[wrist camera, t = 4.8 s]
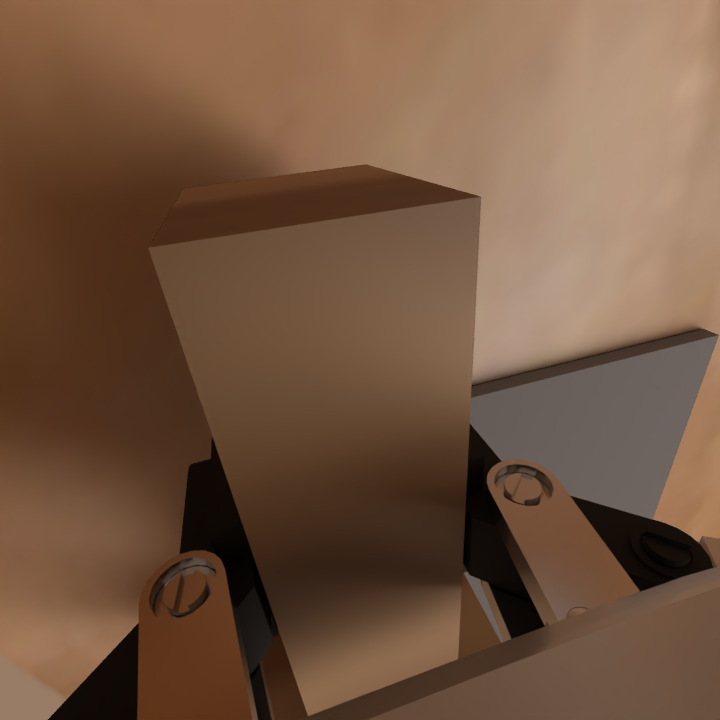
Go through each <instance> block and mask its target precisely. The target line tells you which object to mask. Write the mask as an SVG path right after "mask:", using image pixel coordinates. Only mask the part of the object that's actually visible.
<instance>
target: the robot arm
mask: <svg viewBox="0 0 720 720" xmlns="http://www.w3.org/2000/svg"><path fill="white" fill-rule="evenodd" d="M465 572H468V573H469V575H471V576H473V577H475V578H478V579H480V581H481V586H482V588H483V591H484V593H485V596H486V598H487V601H488V603H489V606H490V608H491V611H492V613H493V616H494V618H495V621H496V623H497V626H498V628H499V631H500V633H501V636H502V638H503V641H504V642H502V643H500V644H497V645H494V646H492V647H489V648H486V649H484V650H481V651H478V652H476V653H473V654H471V655H468V656H465V657H463V658H460V659H457V660H455V661H452V662H449V663H447V664H444V665H441V666H439V667H436V668H433V669H431V670H428V671H426V672H423V673H420V674H418V675H415V676H412V677H410V678H407V679H404V680H402V681H399V682H397V683H394V684H391V685H389V686H386V687H383V688H381V689H378V690H375V691H373V692H370V693H367V694H365V695H362V696H360V697H357V698H354V699H352V700H349V701H346V702H344V703H341V704H339V705H336V706H333V707H331V708H328V709H326V710H323V711H320V712H318V713H315V714H313V715H310V716H307V717H305V718H302V719H300V720H720V539H719V538H712V537H704V536H702V538H701V540H700V542H697V541H695V540H694V539H693V538H692V537H691V536H689V535H688V534H686V533H684V532H683V531H681V530H679V529H678V528H676V527H673V526H670V525H668V524H665V523H663V522H659V521H656V520H652V519H649V518H645V517H642V516H639V515H635V514H632V513H628V512H625V511H621V510H618V509H615V508H611V507H608V506H604V505H601V504H597V503H594V502H591V501H587V500H584V499H580V498H577V497H573V496H570V495H569V494H568V492H567V491H566V490H565V488H564V487H563V486H562V484H561V483H560V482H559V480H558V479H557V478H556V477H555V476H554V475H553V474H552V473H551V471H549V470H548V469H546V468H545V467H543V466H541V465H539V464H537V463H534V462H531V461H527V460H520V459H514V460H506V461H501V460H500V459H499V458H498V456H497V455H496V454H495V453H494V452H493V450H492V449H491V448H490V447H489V446H488V444H487V443H486V442H485V441H484V440H483V438H482V437H481V436H480V435H479V434H478V432H477V431H476V430H475V429H474V428H473V426H472V425H471V424H470V429H469V449H468V469H467V489H466V509H465V530H464V550H463V570H462V573H465ZM275 636H278V627H277V624H276V621H275V618H274V615H273V612H272V609H271V606H270V603H269V600H268V597H267V595H266V592H265V589H264V586H263V583H262V580H261V577H260V574H259V571H258V568H257V565H256V562H255V559H254V557H253V554H252V551H251V548H250V545H249V542H248V539H247V536H246V533H245V530H244V527H243V524H242V521H241V519H240V516H239V513H238V510H237V507H236V504H235V501H234V498H233V495H232V492H231V489H230V486H229V483H228V481H227V478H226V475H225V472H224V469H223V466H222V463H221V460H220V457H219V454H218V451H217V448H216V445H215V443H214V440H213V437H212V448H211V459H209V460H205V461H201V462H197V463H193V464H191V465H190V466H189V470H188V479H187V489H186V499H185V508H184V518H183V528H182V537H181V547H180V555H178V556H176V557H174V558H172V559H170V560H168V561H167V562H166V563H165V564H163V565H162V566H161V567H160V568H158V569H157V570H156V571H155V573H154V574H153V575H152V576H151V577H150V579H149V580H148V581H147V583H146V585H145V587H144V589H143V591H142V593H141V598H140V603H139V623H138V624H137V625H136V626H135V627H134V628H133V629H132V631H131V632H130V633H129V634H128V635H127V636H126V637H125V638H124V639H123V640H122V641H121V642H120V643H119V644H118V645H117V647H116V648H115V649H114V650H113V651H112V652H111V653H110V654H109V655H108V656H107V657H106V658H105V659H104V660H103V661H102V663H101V664H100V665H99V666H98V667H97V668H96V669H95V670H94V671H93V672H92V673H91V674H90V675H89V676H88V677H87V679H86V680H85V681H84V682H83V683H82V684H81V685H80V686H79V687H78V688H77V689H76V690H75V691H74V692H73V693H72V695H71V696H70V697H69V698H68V699H67V700H66V701H65V702H64V703H63V704H62V705H61V706H60V707H59V709H57V711H56V712H55V713H54V714H53V715H52V716H51V717H50V718H49V719H48V720H275V718H274V714H273V709H272V705H271V700H270V696H269V691H268V686H267V682H266V677H265V673H264V668H263V664H262V660H261V659H262V658H263V656H264V655H265V653H266V652H267V650H268V649H269V647H270V646H271V644H272V643H273V637H275Z"/></svg>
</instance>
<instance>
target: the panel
mask: <svg viewBox="0 0 720 720" xmlns="http://www.w3.org/2000/svg"><path fill="white" fill-rule="evenodd" d="M718 336H719V335H717V334H715V333H712V332H710V331H708V330H705V329H701V330H697V331H693V332H689V333H685V334H681V335H677V336H673V337H669V338H665V339H661V340H657V341H653V342H649V343H645V344H641V345H637V346H633V347H629V348H625V349H621V350H617V351H612V352H608V353H604V354H600V355H596V356H592V357H588V358H584V359H580V360H576V361H572V362H568V363H564V364H560V365H556V366H552V367H548V368H544V369H540V370H536V371H532V372H528V373H524V374H520V375H516V376H512V377H508V378H504V379H500V380H496V381H491V382H487V383H483V384H479V385H475V386H472V388H471V408H470V424H471V425H472V426H473V428H474V429H475V430H476V431H477V432H478V434H479V435H480V436H481V437H482V438H483V440H484V441H485V442H486V443H487V444H488V446H489V447H490V448H491V449H492V450H493V452H494V453H495V454H496V455H497V456H498V458H499V459H500V460H501V461H506V460H514V459H520V460H527V461H531V462H534V463H537V464H539V465H541V466H543V467H545V468H546V469H548V470H549V471H551V473H552V474H553V475H554V476H555V477H556V478H557V479H558V480H559V482H560V483H561V484H562V486H563V487H564V488H565V490H566V491H567V492H568V494H569V495H570V496H573V497H577V498H580V499H584V500H587V501H591V502H594V503H597V504H601V505H604V506H608V507H611V508H615V509H618V510H621V511H625V512H628V513H632V514H635V515H639V516H642V517H645V518H649V519H653V517H654V514H655V511H656V508H657V505H658V503H659V500H660V497H661V494H662V492H663V489H664V486H665V483H666V480H667V478H668V475H669V472H670V469H671V467H672V464H673V461H674V458H675V455H676V453H677V450H678V447H679V444H680V442H681V439H682V436H683V433H684V430H685V428H686V425H687V422H688V419H689V416H690V414H691V411H692V408H693V405H694V403H695V400H696V397H697V394H698V391H699V389H700V386H701V383H702V380H703V378H704V375H705V372H706V369H707V366H708V364H709V361H710V358H711V355H712V353H713V350H714V347H715V344H716V341H717V339H718ZM464 574H465V576H466V578H467V580H468V582H469V584H470V586H471V587H472V589H473V591H474V593H475V595H476V597H477V599H478V600H479V602H480V604H481V606H482V608H483V610H484V612H485V613H486V615H487V617H488V619H489V621H490V623H491V625H492V627H493V628H494V630H495V632H496V634H497V636H498V638H499V640H500V641H501V643H502V642H504V641H503V638H502V636H501V633H500V631H499V628H498V626H497V623H496V621H495V618H494V616H493V613H492V611H491V608H490V606H489V603H488V601H487V598H486V596H485V593H484V591H483V588H482V586H481V581H480V579H478V578H475V577H473V576H471V575H469V573H468V572H465V573H464Z"/></svg>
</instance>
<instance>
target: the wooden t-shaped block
mask: <svg viewBox="0 0 720 720" xmlns="http://www.w3.org/2000/svg"><path fill="white" fill-rule="evenodd" d="M480 206H481V197H480V196H477V195H473V194H470V193H466V192H462V191H459V190H455V189H452V188H448V187H445V186H441V185H437V184H434V183H430V182H427V181H423V180H420V179H416V178H412V177H409V176H405V175H402V174H398V173H394V172H391V171H387V170H384V169H380V168H377V167H373V166H369V165H358V166H351V167H343V168H335V169H328V170H320V171H313V172H305V173H297V174H290V175H282V176H274V177H267V178H259V179H251V180H244V181H236V182H228V183H221V184H213V185H205V186H198V187H190V188H184V189H183V191H182V192H181V194H180V196H179V197H178V199H177V201H176V202H175V204H174V206H173V207H172V209H171V210H170V212H169V214H168V215H167V217H166V219H165V220H164V222H163V224H162V225H161V227H160V229H159V230H158V232H157V234H156V235H155V237H154V239H153V240H152V242H151V244H150V245H149V247H148V250H149V252H150V255H151V258H152V261H153V264H154V267H155V270H156V273H157V276H158V279H159V282H160V285H161V288H162V290H163V293H164V296H165V299H166V302H167V305H168V308H169V311H170V314H171V317H172V320H173V323H174V326H175V328H176V331H177V334H178V337H179V340H180V343H181V346H182V349H183V352H184V355H185V358H186V361H187V364H188V367H189V369H190V372H191V375H192V378H193V381H194V384H195V387H196V390H197V393H198V396H199V399H200V402H201V405H202V407H203V410H204V413H205V416H206V419H207V422H208V425H209V428H210V431H211V434H212V437H213V440H214V443H215V445H216V448H217V451H218V454H219V457H220V460H221V463H222V466H223V469H224V472H225V475H226V478H227V481H228V483H229V486H230V489H231V492H232V495H233V498H234V501H235V504H236V507H237V510H238V513H239V516H240V519H241V521H242V524H243V527H244V530H245V533H246V536H247V539H248V542H249V545H250V548H251V551H252V554H253V557H254V559H255V562H256V565H257V568H258V571H259V574H260V577H261V580H262V583H263V586H264V589H265V592H266V595H267V597H268V600H269V603H270V606H271V609H272V612H273V615H274V618H275V621H276V624H277V627H278V636H275V637H273V643H272V644H271V646H270V647H269V649H268V650H267V652H266V653H265V655H264V656H263V658H262V659H261V660H262V664H263V668H264V673H265V677H266V682H267V686H268V691H269V696H270V700H271V705H272V709H273V714H274V718H275V720H300V719H302V718H305V717H307V716H310V715H313V714H315V713H318V712H320V711H323V710H326V709H328V708H331V707H333V706H336V705H339V704H341V703H344V702H346V701H349V700H352V699H354V698H357V697H360V696H362V695H365V694H367V693H370V692H373V691H375V690H378V689H381V688H383V687H386V686H389V685H391V684H394V683H397V682H399V681H402V680H404V679H407V678H410V677H412V676H415V675H418V674H420V673H423V672H426V671H428V670H431V669H433V668H436V667H439V666H441V665H444V664H447V663H449V662H452V661H455V660H457V659H460V658H463V657H465V656H468V655H471V654H473V653H476V652H478V651H481V650H484V649H486V648H489V647H492V646H494V645H497V644H500V643H501V641H500V640H499V638H498V636H497V634H496V632H495V630H494V628H493V627H492V625H491V623H490V621H489V619H488V617H487V615H486V613H485V612H484V610H483V608H482V606H481V604H480V602H479V600H478V599H477V597H476V595H475V593H474V591H473V589H472V587H471V586H470V584H469V582H468V580H467V578H466V576H465V574H464V573H462V570H463V550H464V530H465V509H466V489H467V469H468V449H469V429H470V408H471V388H472V368H473V348H474V327H475V307H476V287H477V267H478V247H479V226H480Z"/></svg>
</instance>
